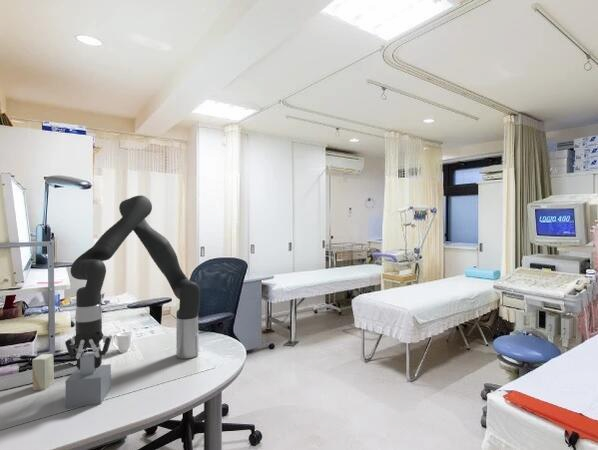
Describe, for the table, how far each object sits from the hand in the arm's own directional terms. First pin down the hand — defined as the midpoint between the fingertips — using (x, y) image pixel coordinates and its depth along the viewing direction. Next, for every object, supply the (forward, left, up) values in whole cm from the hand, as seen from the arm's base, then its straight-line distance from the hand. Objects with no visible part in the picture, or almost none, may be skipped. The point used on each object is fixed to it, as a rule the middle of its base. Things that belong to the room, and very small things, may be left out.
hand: (89, 367), depth 113 cm
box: (+19, -12, -10) cm, 25 cm away
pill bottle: (+15, -32, -10) cm, 37 cm away
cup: (+1, -42, -10) cm, 43 cm away
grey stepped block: (0, 0, -10) cm, 10 cm away
